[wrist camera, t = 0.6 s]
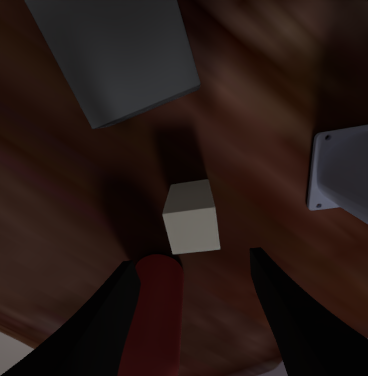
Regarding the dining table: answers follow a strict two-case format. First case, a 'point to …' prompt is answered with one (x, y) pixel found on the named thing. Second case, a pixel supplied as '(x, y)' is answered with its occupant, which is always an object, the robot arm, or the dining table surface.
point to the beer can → (155, 320)
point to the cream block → (191, 218)
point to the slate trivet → (118, 54)
